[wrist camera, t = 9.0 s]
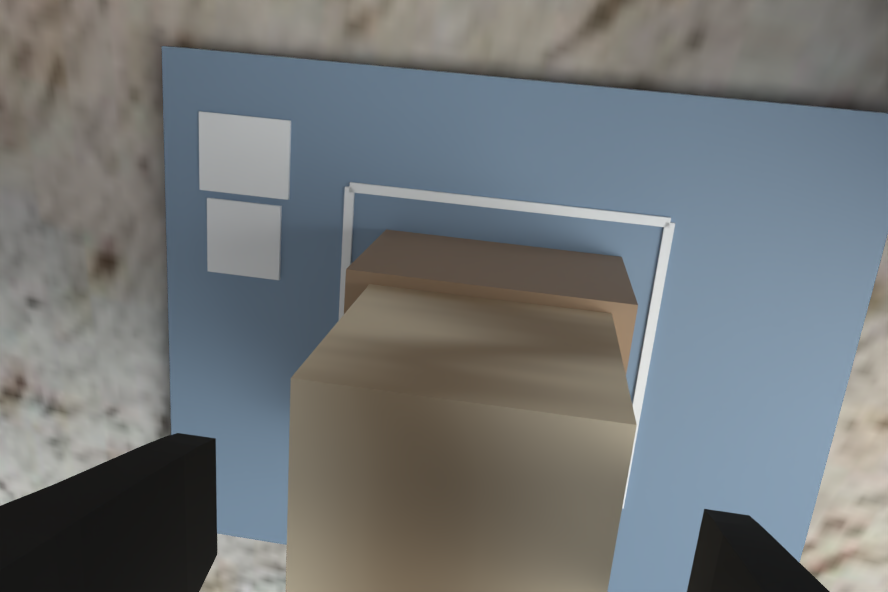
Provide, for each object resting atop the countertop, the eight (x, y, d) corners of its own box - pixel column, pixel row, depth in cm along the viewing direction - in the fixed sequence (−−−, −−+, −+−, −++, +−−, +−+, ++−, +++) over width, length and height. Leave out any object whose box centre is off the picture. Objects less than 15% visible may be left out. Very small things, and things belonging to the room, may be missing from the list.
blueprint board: (900, 113, 18) (1021, 132, 13) (772, 601, 22) (830, 746, 18) (180, 46, 20) (64, 42, 15) (188, 507, 24) (99, 616, 20)
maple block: (611, 313, 15) (636, 424, 11) (578, 526, 17) (587, 707, 12) (369, 284, 16) (291, 377, 11) (358, 493, 17) (284, 653, 13)
